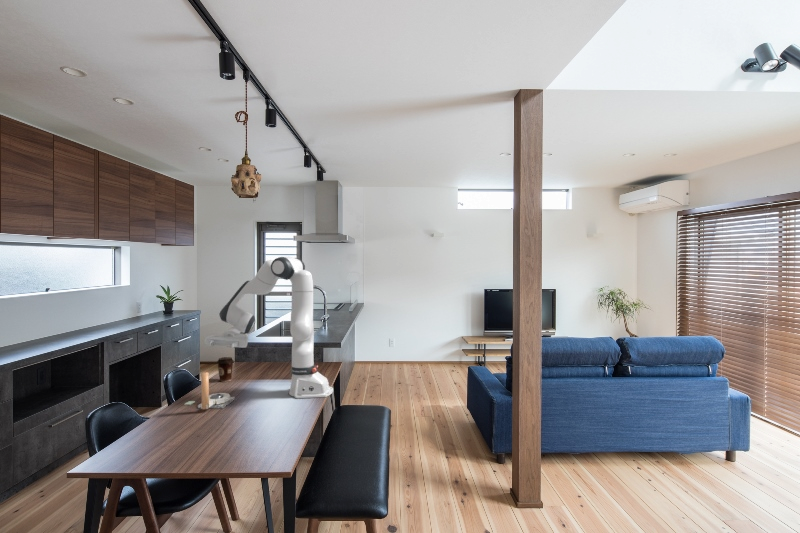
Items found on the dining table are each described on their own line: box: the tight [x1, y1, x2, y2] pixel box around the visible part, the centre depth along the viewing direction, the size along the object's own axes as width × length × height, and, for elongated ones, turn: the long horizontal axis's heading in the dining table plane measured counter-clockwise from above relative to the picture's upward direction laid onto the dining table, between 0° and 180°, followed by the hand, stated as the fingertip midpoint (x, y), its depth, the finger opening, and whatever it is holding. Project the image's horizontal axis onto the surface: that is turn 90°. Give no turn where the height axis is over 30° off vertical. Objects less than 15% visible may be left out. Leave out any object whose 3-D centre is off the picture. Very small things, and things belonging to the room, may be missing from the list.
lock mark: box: [183, 400, 196, 406], centre depth 187 cm, size 3×4×1 cm
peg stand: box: [200, 371, 231, 410], centre depth 184 cm, size 17×11×16 cm, turn 177°
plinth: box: [197, 393, 236, 409], centre depth 187 cm, size 12×12×4 cm
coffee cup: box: [216, 356, 234, 383], centre depth 224 cm, size 9×8×13 cm
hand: (221, 345), depth 188 cm, fingers open, 8 cm apart
